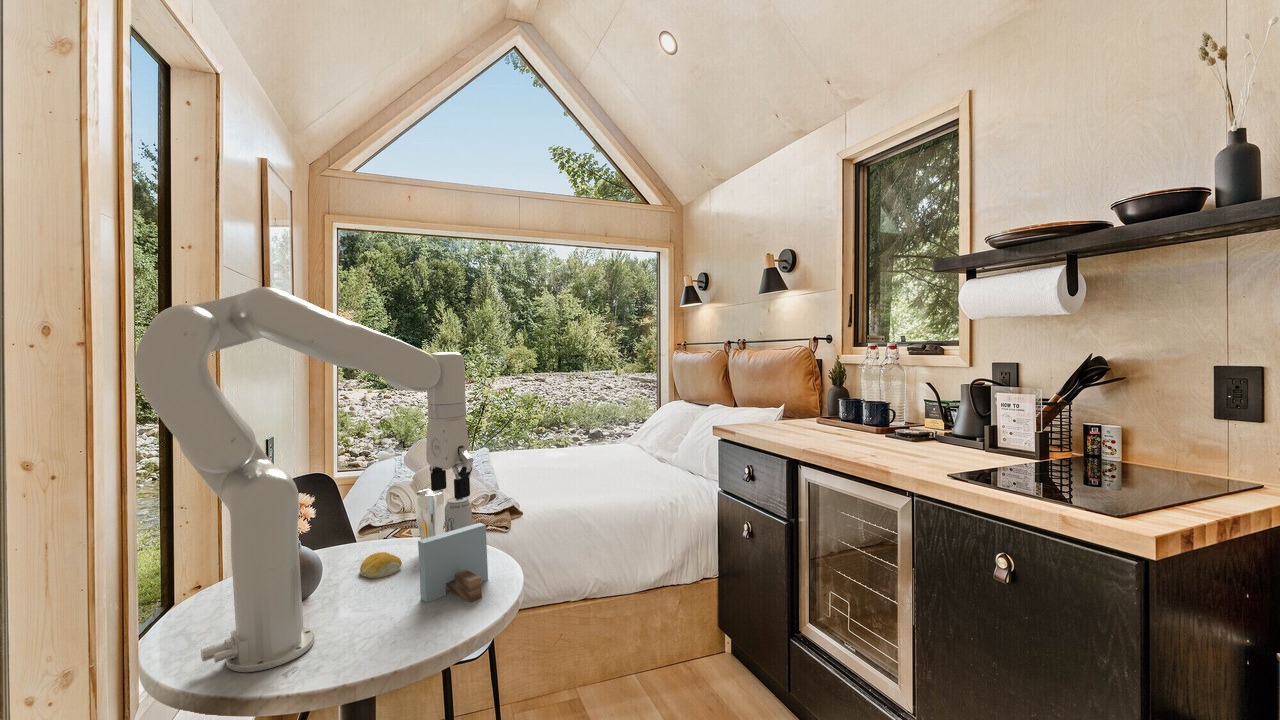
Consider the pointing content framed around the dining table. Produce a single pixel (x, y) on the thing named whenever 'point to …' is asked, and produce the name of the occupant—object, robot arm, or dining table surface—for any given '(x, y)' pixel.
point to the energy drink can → (457, 514)
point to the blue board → (451, 558)
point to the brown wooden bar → (466, 585)
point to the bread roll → (380, 565)
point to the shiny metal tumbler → (430, 512)
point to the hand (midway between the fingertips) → (450, 493)
